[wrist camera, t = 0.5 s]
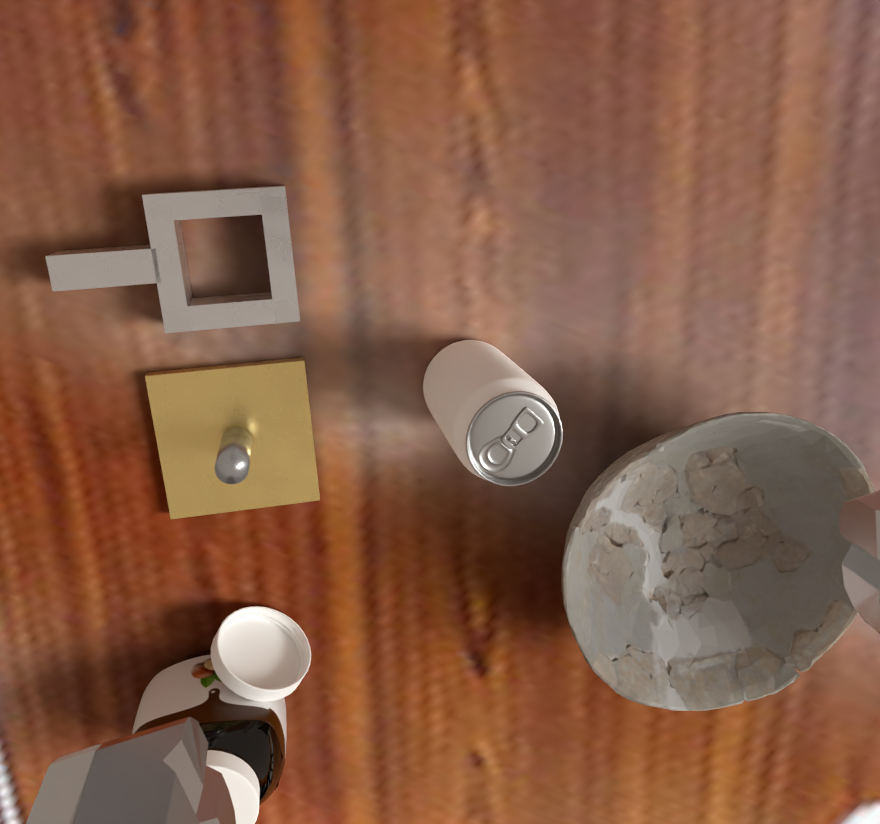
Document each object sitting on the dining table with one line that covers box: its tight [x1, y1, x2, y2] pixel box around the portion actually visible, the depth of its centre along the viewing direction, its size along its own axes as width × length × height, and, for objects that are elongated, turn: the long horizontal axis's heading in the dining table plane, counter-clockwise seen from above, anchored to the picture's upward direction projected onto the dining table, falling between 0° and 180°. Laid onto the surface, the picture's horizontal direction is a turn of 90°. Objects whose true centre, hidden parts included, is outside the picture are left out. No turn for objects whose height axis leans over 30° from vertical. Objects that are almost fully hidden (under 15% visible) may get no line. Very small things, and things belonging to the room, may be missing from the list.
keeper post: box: [145, 357, 320, 519], centre depth 49 cm, size 10×10×6 cm
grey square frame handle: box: [45, 185, 300, 333], centre depth 46 cm, size 14×8×3 cm, turn 93°
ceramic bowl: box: [561, 412, 875, 711], centre depth 55 cm, size 22×23×10 cm
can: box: [423, 340, 563, 486], centre depth 48 cm, size 6×6×12 cm
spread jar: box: [132, 606, 311, 824], centre depth 51 cm, size 12×11×12 cm
